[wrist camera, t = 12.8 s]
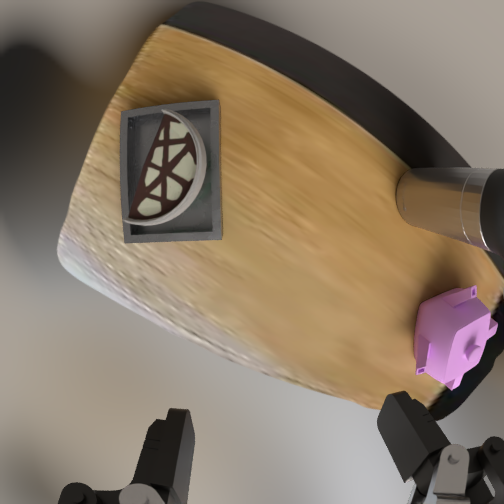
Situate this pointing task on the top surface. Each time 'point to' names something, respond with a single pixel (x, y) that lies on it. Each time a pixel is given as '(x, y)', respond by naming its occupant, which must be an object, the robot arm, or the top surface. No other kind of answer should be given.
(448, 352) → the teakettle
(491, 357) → the top surface
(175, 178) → the grey speckled half-round piece
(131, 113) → the grey metal tray
